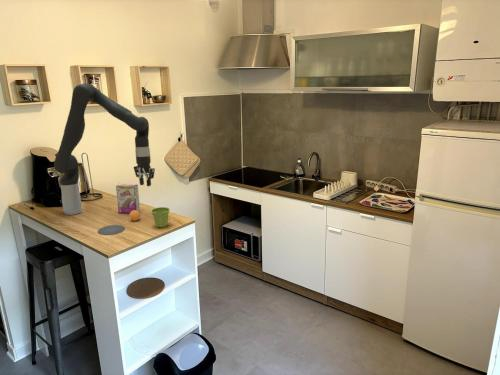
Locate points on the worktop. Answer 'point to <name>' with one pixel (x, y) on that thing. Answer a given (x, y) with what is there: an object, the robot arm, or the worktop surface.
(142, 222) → the worktop surface
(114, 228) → the disc
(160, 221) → the plant pot
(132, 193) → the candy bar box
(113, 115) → the robot arm
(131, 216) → the ball
